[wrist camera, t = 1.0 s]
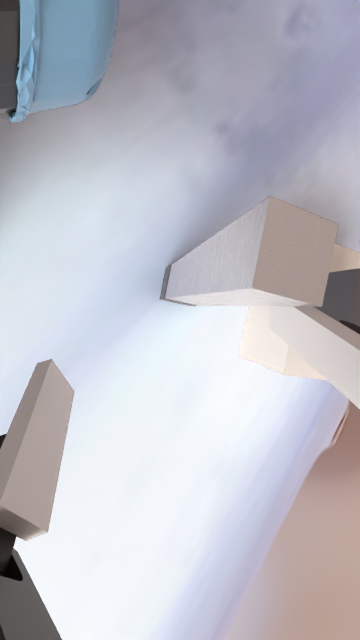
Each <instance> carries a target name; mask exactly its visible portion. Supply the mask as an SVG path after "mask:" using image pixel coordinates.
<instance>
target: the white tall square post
mask: <svg viewBox="0 0 360 640" xmlns="http://www.w3.org/2000/svg"><path fill="white" fill-rule="evenodd" d="M338 226H339V224H336V223H334V222H331V221H329V220H327V219H324V218H322V217H319V216H317V215H315V214H312V213H310V212H307V211H305V210H303V209H300V208H298V207H295V206H293V205H291V204H288V203H286V202H283V201H281V200H279V199H276V198H274V197H271V196H269V197H268V198H266V199H265V200H263V201H262V202H261V203H259V204H258V205H256V206H255V207H253V208H252V209H251V210H249V211H248V212H246V213H245V214H243V215H242V216H241V217H239V218H238V219H236V220H235V221H233V222H232V223H231V224H229V225H228V226H226V227H225V228H223V229H222V230H221V231H219V232H218V233H216V234H215V235H213V236H212V237H211V238H209V239H208V240H206V241H205V242H203V243H202V244H201V245H199V246H198V247H196V248H195V249H193V250H192V251H191V252H189V253H188V254H186V255H185V256H183V257H182V258H181V259H179V260H178V261H176V262H175V263H173V264H172V265H169V266H168V267H167V268H166V270H165V275H164V280H163V285H162V290H161V295H160V299H161V300H165V301H170V302H175V303H179V304H184V305H189V306H196V305H219V306H307V307H322V304H323V299H324V294H325V290H326V285H327V280H328V275H329V270H330V265H331V260H332V255H333V250H334V245H335V241H336V236H337V231H338Z"/></svg>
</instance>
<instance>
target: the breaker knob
mask: <svg viewBox="0 0 360 640" xmlns="http://www.w3.org/2000/svg"><path fill="white" fill-rule="evenodd" d="M315 308H316V309H318V310H320V311H321V312H323V313H325V314H326V315H328V316H330V317H331V318H333V319H335V320H336V321H340V320H344V321H347V322H350V323H353V324H355V325H357V326H359V327H360V269H359V268H357V269H350V270H343V271H336V272H329V275H328V280H327V285H326V290H325V294H324V299H323V304H322V307H315Z"/></svg>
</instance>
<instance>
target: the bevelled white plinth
mask: <svg viewBox="0 0 360 640" xmlns="http://www.w3.org/2000/svg"><path fill="white" fill-rule="evenodd" d="M357 268H359V269H360V253H359V252H356V251H353V250H351V249H348V248H346V247H343V246H341V245H338V244H335V245H334V250H333V255H332V260H331V265H330V270H329V272H336V271H343V270H350V269H357ZM269 316H270V306H248V310H247V315H246V320H245V325H244V330H243V335H242V340H241V345H240V350H239V355H238V356H239V357H242V358H244V359H246V360H249V361H251V362H254V363H256V364H258V365H261V366H263V367H265V368H268V369H270V370H273V371H275V372H277V373H280V374H282V375H289V376H297V377H305V378H312V379H320V380H327V379H326V378H324V377H323V376H322V375H321V374H320V373H319V372H318V371H317V370H316V369H314V368H313V367H312V366H311V365H310V364H309V363H308V362H307V361H306V360H304V359H303V358H302V357H301V356H300V355H299V354H298V353H297V352H296V351H294V350H293V349H292V348H291V347H290V346H289V345H288V344H287V343H286V342H284V341H283V340H282V339H281V338H280V337H279V336H278V335H277V334H276V333H274V332H273V331H272V330H271V329H270V328H269Z"/></svg>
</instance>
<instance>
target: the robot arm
mask: <svg viewBox="0 0 360 640" xmlns="http://www.w3.org/2000/svg"><path fill="white" fill-rule="evenodd" d="M118 9H119V0H0V119H2V118H7V119H8V120H9V121H10V122H21V121H23V120H25V119H26V117H27V116H28V114H29V113H34V112H39V111H45V110H50V109H55V108H60V107H66V106H71V105H76V104H79V103H82V102H84V101H86V100H87V99H89V98H90V97H91V96H92V95H93V94H94V93H95V91H96V89H97V88H98V86H99V84H100V82H101V80H102V77H103V75H104V74H105V72H106V70H107V67H108V64H109V61H110V58H111V54H112V49H113V43H114V38H115V33H116V26H117V18H118ZM269 328H270V329H271V330H272V331H273V332H274V333H276V334H277V335H278V336H279V337H280V338H281V339H282V340H283V341H284V342H286V343H287V344H288V345H289V346H290V347H291V348H292V349H293V350H294V351H296V352H297V353H298V354H299V355H300V356H301V357H302V358H303V359H304V360H306V361H307V362H308V363H309V364H310V365H311V366H312V367H313V368H314V369H316V370H317V371H318V372H319V373H320V374H321V375H322V376H323V377H324V378H326V379H327V380H328V381H329V382H330V383H331V384H332V385H333V386H334V387H336V388H337V389H338V390H339V391H340V392H341V393H342V394H343V395H344V396H346V397H347V398H348V399H349V400H350V401H351V402H352V403H353V404H355V405H356V406H357V407H358V408H359V409H360V327H359V326H357V325H355V324H353V323H350V322H347V321H344V320H340V321H336V320H335V319H333V318H331V317H330V316H328V315H326V314H325V313H323V312H321V311H320V310H318V309H316V308H315V307H307V306H270V316H269ZM73 396H74V390H73V389H72V387H71V386H70V384H69V383H68V382H67V380H66V379H65V377H64V376H63V374H62V373H61V372H60V370H59V369H58V367H57V366H56V365H55V363H54V362H53V360H52V359H50V360H47V361H43V362H40V363H37V365H36V367H35V370H34V372H33V374H32V377H31V379H30V381H29V384H28V386H27V388H26V390H25V393H24V395H23V397H22V400H21V402H20V404H19V407H18V409H17V411H16V414H15V416H14V418H13V421H12V423H11V425H10V428H9V430H8V432H7V434H4V435H1V436H0V640H62V639H61V637H60V635H59V633H58V631H57V629H56V627H55V625H54V623H53V621H52V619H51V617H50V615H49V613H48V611H47V609H46V607H45V605H44V603H43V601H42V599H41V597H40V595H39V593H38V591H37V589H36V587H35V585H34V583H33V581H32V579H31V577H30V575H29V573H28V572H27V570H26V568H25V566H24V564H23V562H22V560H21V558H20V556H19V554H18V552H17V551H16V550H15V549H14V548H13V547H14V543H15V539H16V536H17V537H19V538H21V539H23V540H25V541H27V540H29V539H32V538H34V537H37V536H40V535H42V534H45V533H47V532H48V529H49V523H50V518H51V513H52V507H53V502H54V497H55V492H56V486H57V481H58V476H59V470H60V465H61V460H62V455H63V449H64V444H65V439H66V433H67V428H68V423H69V417H70V412H71V407H72V402H73Z"/></svg>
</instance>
